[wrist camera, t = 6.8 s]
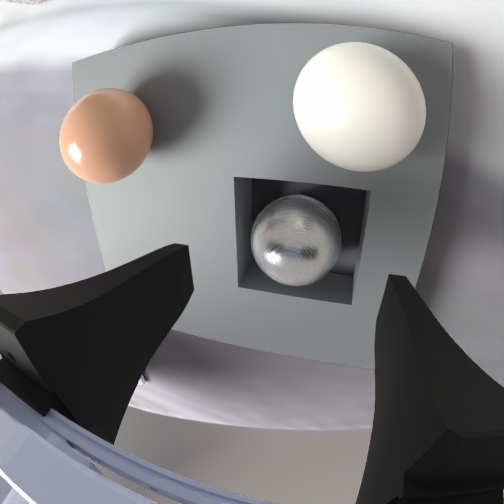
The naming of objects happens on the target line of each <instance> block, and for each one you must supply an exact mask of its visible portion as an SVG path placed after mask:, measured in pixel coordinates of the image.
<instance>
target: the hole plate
mask: <svg viewBox="0 0 504 504" xmlns="http://www.w3.org/2000/svg"><path fill="white" fill-rule="evenodd" d="M345 42H363V43H369V44H373V45H376V46H379V47H381V48H384V49H386V50H388V51H390V52H391V53H393V54H394V55H396V56H397V57H398V58H400V59H401V60H402V61H403V62H404V63H405V64H406V65H407V66H408V67H409V68H410V69H411V71H412V72H413V73H414V75H415V76H416V78H417V80H418V82H419V83H420V86H421V88H422V91H423V94H424V98H425V104H426V120H425V126H424V130H423V133H422V135H421V138H420V140H419V142H418V143H417V145H416V146H415V148H414V149H413V150H412V151H411V153H410V154H409V155H408V156H406V157H405V158H404V159H403V160H401V161H400V162H398V163H397V164H395V165H393V166H391V167H389V168H385V169H382V170H378V171H371V172H359V171H352V170H347V169H344V168H341V167H338V166H336V165H334V164H332V163H330V162H329V161H327V160H325V159H324V158H322V157H321V156H320V155H319V154H317V153H316V152H315V151H314V150H313V149H312V148H311V147H310V145H309V144H308V143H307V142H306V140H305V139H304V137H303V135H302V134H301V132H300V130H299V127H298V125H297V122H296V119H295V115H294V110H293V94H294V88H295V84H296V81H297V79H298V76H299V74H300V72H301V71H302V69H303V68H304V66H305V65H306V64H307V62H308V61H309V60H310V59H311V58H312V57H313V56H315V55H316V54H317V53H319V52H320V51H322V50H324V49H326V48H328V47H330V46H333V45H336V44H340V43H345ZM72 68H73V87H74V101H75V103H76V102H77V101H78V100H79V99H80V98H82V97H83V96H85V95H86V94H88V93H90V92H92V91H95V90H99V89H104V88H117V89H122V90H125V91H128V92H130V93H132V94H134V95H135V96H136V97H138V98H139V99H140V100H141V101H142V102H143V103H144V104H145V106H146V107H147V109H148V111H149V113H150V116H151V118H152V122H153V141H152V145H151V148H150V151H149V153H148V155H147V157H146V159H145V160H144V162H143V163H142V164H141V166H140V167H139V168H138V169H137V170H136V171H135V172H133V173H132V174H131V175H129V176H128V177H126V178H124V179H122V180H120V181H117V182H113V183H109V184H96V183H91V182H88V181H85V183H86V188H87V194H88V199H89V204H90V208H91V213H92V218H93V222H94V226H95V231H96V235H97V239H98V243H99V247H100V251H101V254H102V258H103V262H104V265H105V269H106V272H107V271H109V270H112V269H114V268H116V267H119V266H121V265H124V264H126V263H128V262H130V261H133V260H135V259H137V258H139V257H141V256H144V255H146V254H148V253H150V252H153V251H155V250H157V249H160V248H162V247H164V246H167V245H170V244H173V243H177V244H184V245H188V246H189V254H190V261H191V269H192V276H193V283H194V292H193V294H192V296H191V298H190V300H189V302H188V304H187V306H186V308H185V310H184V311H183V313H182V314H181V316H180V317H179V319H178V320H177V321H176V323H175V324H174V326H173V327H172V330H175V331H179V332H183V333H187V334H191V335H194V336H198V337H202V338H206V339H210V340H215V341H219V342H223V343H227V344H232V345H236V346H241V347H245V348H250V349H255V350H259V351H264V352H269V353H274V354H279V355H285V356H290V357H296V358H301V359H307V360H313V361H319V362H325V363H332V364H338V365H345V366H352V367H360V368H367V369H375V352H374V342H375V329H376V319H377V316H378V312H379V309H380V305H381V302H382V298H383V294H384V291H385V287H386V283H387V279H388V275H389V274H394V275H401V276H406V277H407V278H408V280H409V281H410V283H411V284H412V285H413V287H414V288H415V287H416V284H417V280H418V277H419V274H420V270H421V267H422V263H423V260H424V256H425V253H426V249H427V245H428V241H429V237H430V233H431V229H432V225H433V220H434V216H435V211H436V206H437V202H438V196H439V191H440V186H441V180H442V174H443V168H444V161H445V154H446V147H447V139H448V130H449V120H450V108H451V92H452V43H449V42H445V41H441V40H437V39H433V38H429V37H424V36H419V35H414V34H409V33H404V32H398V31H392V30H385V29H378V28H370V27H361V26H351V25H338V24H320V23H270V24H251V25H239V26H228V27H219V28H211V29H204V30H197V31H191V32H185V33H179V34H174V35H169V36H164V37H159V38H154V39H150V40H146V41H142V42H138V43H134V44H130V45H126V46H122V47H119V48H115V49H112V50H109V51H105V52H102V53H99V54H96V55H93V56H90V57H87V58H84V59H81V60H79V61H76V62H73V63H72ZM252 178H259V179H271V180H283V181H293V182H303V183H313V184H322V185H331V186H339V187H347V188H355V189H362V190H366V198H365V206H364V213H363V220H362V227H361V234H360V240H359V246H358V252H357V258H356V264H355V269H354V275H353V276H351V275H344V274H337V273H330V272H329V273H328V274H327V275H326V276H324V277H323V278H322V279H320V280H318V281H316V282H314V283H312V284H309V285H304V286H288V285H284V284H281V283H278V282H276V281H274V280H272V279H271V278H270V277H268V276H267V275H266V274H265V273H264V272H263V271H262V270H261V269H260V267H259V266H258V265H257V263H256V262H255V261H253V253H252V249H251V232H252V228H253V212H252Z"/></svg>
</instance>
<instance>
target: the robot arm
mask: <svg viewBox="0 0 504 504" xmlns="http://www.w3.org/2000/svg"><path fill="white" fill-rule="evenodd" d="M193 292H194V283H193V276H192V269H191V261H190V254H189V246H188V245H184V244H177V243H173V244H170V245H167V246H164V247H162V248H160V249H157V250H155V251H153V252H150V253H148V254H146V255H144V256H141V257H139V258H137V259H135V260H133V261H130V262H128V263H126V264H124V265H121V266H119V267H116V268H114V269H112V270H109V271H107V272H105V273H102V274H99V275H97V276H94V277H91V278H88V279H85V280H82V281H79V282H75V283H71V284H68V285H64V286H60V287H56V288H52V289H46V290H41V291H35V292H28V293H17V294H3V295H0V354H1V356H2V357H3V358H2V359H1V360H0V504H157V503H156V502H153V501H151V500H149V499H147V498H145V497H142V496H141V495H139V494H137V493H135V492H133V491H131V490H129V489H127V488H125V487H123V486H121V485H119V484H117V483H116V482H114V481H112V480H110V479H109V478H107V477H106V476H105V475H104V474H103V473H102V472H101V471H99V470H98V469H97V468H96V467H95V466H94V465H93V463H92V462H91V459H92V460H94V461H95V462H97V463H99V464H100V465H102V466H104V467H106V468H107V469H109V470H111V471H113V472H115V473H117V474H118V475H120V476H122V477H124V478H126V479H128V480H130V481H132V482H134V483H136V484H138V485H140V486H143V487H145V488H147V489H149V490H151V491H153V492H155V493H158V494H160V495H162V496H165V497H167V498H169V499H172V500H174V501H177V502H179V503H182V504H277V503H272V502H268V501H263V500H259V499H255V498H251V497H247V496H243V495H240V494H236V493H232V492H229V491H225V490H222V489H219V488H216V487H213V486H209V485H206V484H203V483H200V482H198V481H195V480H191V479H189V478H186V477H184V476H181V475H178V474H176V473H173V472H171V471H168V470H166V469H163V468H161V467H159V466H156V465H154V464H152V463H150V462H147V461H145V460H143V459H141V458H139V457H136V456H134V455H132V454H130V453H128V452H126V451H124V450H122V449H120V448H118V447H116V446H114V442H115V439H116V436H117V433H118V430H119V427H120V424H121V421H122V418H123V416H124V413H125V411H126V408H127V406H128V404H129V401H130V399H131V397H132V395H133V392H134V390H135V388H136V386H137V384H140V385H144V383H145V380H144V377H143V375H142V374H143V372H144V370H145V368H146V366H147V365H148V363H149V361H150V359H151V358H152V356H153V354H154V353H155V351H156V350H157V348H158V347H159V346H160V344H161V343H162V341H163V340H164V338H165V337H166V336H167V334H168V333H169V331H170V330H171V329H172V327H173V326H174V324H175V323H176V321H177V320H178V319H179V317H180V316H181V314H182V313H183V311H184V310H185V308H186V306H187V304H188V302H189V300H190V298H191V296H192V294H193ZM374 352H375V413H374V420H373V428H372V434H371V440H370V446H369V451H368V457H367V462H366V466H365V470H364V475H363V479H362V483H361V487H360V490H359V494H358V497H357V501H356V504H504V498H503V489H504V388H503V387H502V386H501V385H500V384H498V383H497V382H496V381H495V380H493V379H492V378H491V377H490V376H489V375H488V374H486V373H485V372H484V371H483V370H482V369H481V368H480V367H479V366H478V365H477V364H476V363H475V362H473V361H472V360H471V359H470V358H469V357H468V356H467V354H466V353H465V352H464V351H463V350H462V349H461V348H460V347H459V346H458V345H457V344H456V343H455V341H454V340H453V339H452V338H451V337H450V336H449V334H448V333H447V332H446V331H445V329H444V328H443V327H442V326H441V324H440V323H439V322H438V321H437V319H436V318H435V317H434V315H433V314H432V313H431V311H430V310H429V308H428V307H427V306H426V304H425V303H424V301H423V300H422V298H421V297H420V296H419V294H418V293H417V291H416V290H415V288H414V287H413V285H412V284H411V283H410V281H409V280H408V278H407V277H406V276H401V275H394V274H389V275H388V279H387V283H386V287H385V291H384V294H383V298H382V302H381V305H380V309H379V312H378V316H377V319H376V329H375V342H374Z"/></svg>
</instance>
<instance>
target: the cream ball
mask: <svg viewBox="0 0 504 504" xmlns="http://www.w3.org/2000/svg"><path fill="white" fill-rule="evenodd" d="M293 110H294V115H295V119H296V122H297V125H298V127H299V130H300V132H301V134H302V135H303V137H304V139H305V140H306V142H307V143H308V144H309V145H310V147H311V148H312V149H313V150H314V151H315V152H316V153H317V154H319V155H320V156H321V157H322V158H324V159H325V160H327V161H329V162H330V163H332V164H334V165H336V166H338V167H341V168H344V169H347V170H352V171H359V172H371V171H378V170H382V169H385V168H389V167H391V166H393V165H395V164H397V163H398V162H400V161H401V160H403V159H404V158H405V157H406V156H408V155H409V154H410V153H411V151H412V150H413V149H414V148H415V146H416V145H417V143H418V142H419V140H420V138H421V135H422V133H423V130H424V126H425V120H426V104H425V98H424V94H423V91H422V88H421V86H420V83H419V82H418V80H417V78H416V76H415V75H414V73H413V72H412V71H411V69H410V68H409V67H408V66H407V65H406V64H405V63H404V62H403V61H402V60H401V59H400V58H398V57H397V56H396V55H394V54H393V53H391V52H390V51H388V50H386V49H384V48H381V47H379V46H376V45H373V44H369V43H363V42H345V43H340V44H336V45H333V46H330V47H328V48H326V49H324V50H322V51H320V52H319V53H317V54H316V55H315V56H313V57H312V58H311V59H310V60H309V61H308V62H307V64H306V65H305V66H304V68H303V69H302V71H301V72H300V74H299V76H298V79H297V81H296V84H295V88H294V94H293Z"/></svg>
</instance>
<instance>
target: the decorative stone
mask: <svg viewBox="0 0 504 504" xmlns="http://www.w3.org/2000/svg"><path fill="white" fill-rule="evenodd" d="M0 1H5V2H12V3H19V4H34V5H38V4H40V3H42V2H44V1H45V0H0Z"/></svg>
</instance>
